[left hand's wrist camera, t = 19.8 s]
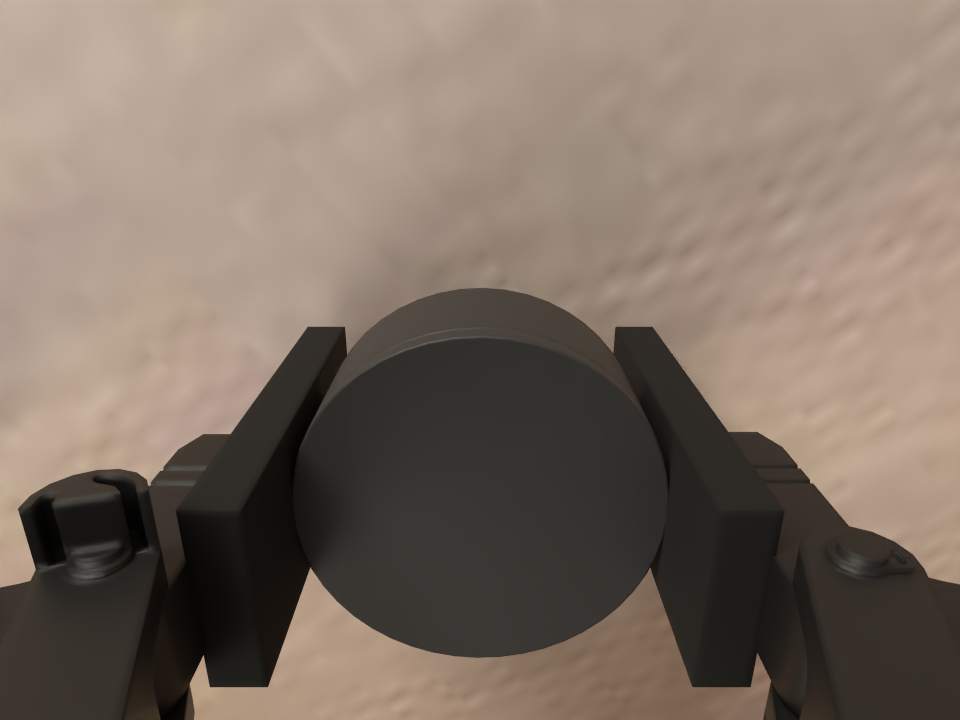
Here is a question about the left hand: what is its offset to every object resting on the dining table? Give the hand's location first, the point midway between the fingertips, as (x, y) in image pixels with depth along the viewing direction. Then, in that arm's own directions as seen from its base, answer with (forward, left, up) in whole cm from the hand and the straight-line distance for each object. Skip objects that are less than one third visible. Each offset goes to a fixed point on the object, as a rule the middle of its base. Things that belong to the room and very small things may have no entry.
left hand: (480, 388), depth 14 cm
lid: (0, 0, +4) cm, 4 cm away
